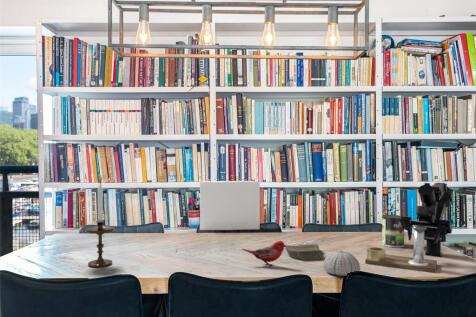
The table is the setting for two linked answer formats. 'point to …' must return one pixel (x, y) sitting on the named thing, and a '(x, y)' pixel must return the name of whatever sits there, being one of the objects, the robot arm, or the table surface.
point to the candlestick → (100, 233)
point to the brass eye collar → (375, 254)
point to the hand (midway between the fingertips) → (421, 241)
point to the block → (229, 205)
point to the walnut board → (404, 263)
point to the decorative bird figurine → (269, 252)
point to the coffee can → (392, 231)
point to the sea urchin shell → (341, 263)
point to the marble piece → (305, 252)
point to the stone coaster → (417, 263)
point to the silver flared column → (418, 244)
